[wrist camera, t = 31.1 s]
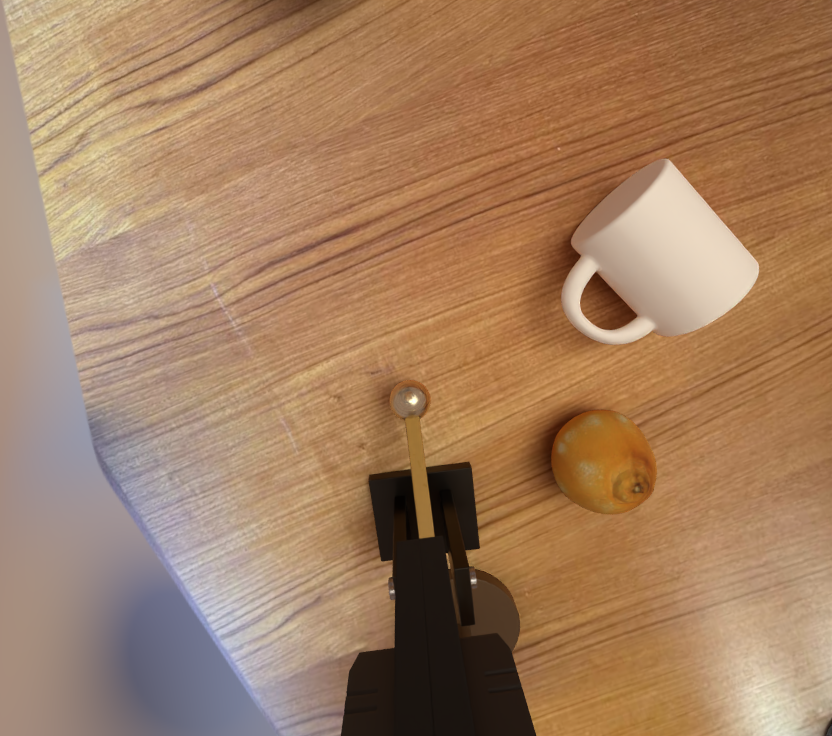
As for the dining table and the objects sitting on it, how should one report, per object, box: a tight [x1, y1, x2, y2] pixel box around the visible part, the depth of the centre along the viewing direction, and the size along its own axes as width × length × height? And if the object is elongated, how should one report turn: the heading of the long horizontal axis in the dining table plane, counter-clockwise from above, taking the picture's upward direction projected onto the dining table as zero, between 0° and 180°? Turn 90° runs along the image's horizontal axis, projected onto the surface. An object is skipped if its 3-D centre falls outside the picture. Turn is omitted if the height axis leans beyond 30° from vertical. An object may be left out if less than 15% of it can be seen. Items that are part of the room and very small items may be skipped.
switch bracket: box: [369, 462, 480, 627], centre depth 35 cm, size 8×9×12 cm
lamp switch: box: [389, 380, 435, 539], centre depth 33 cm, size 16×3×3 cm, turn 7°
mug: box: [561, 159, 759, 345], centre depth 33 cm, size 12×10×8 cm
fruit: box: [551, 410, 657, 514], centre depth 37 cm, size 8×8×8 cm
